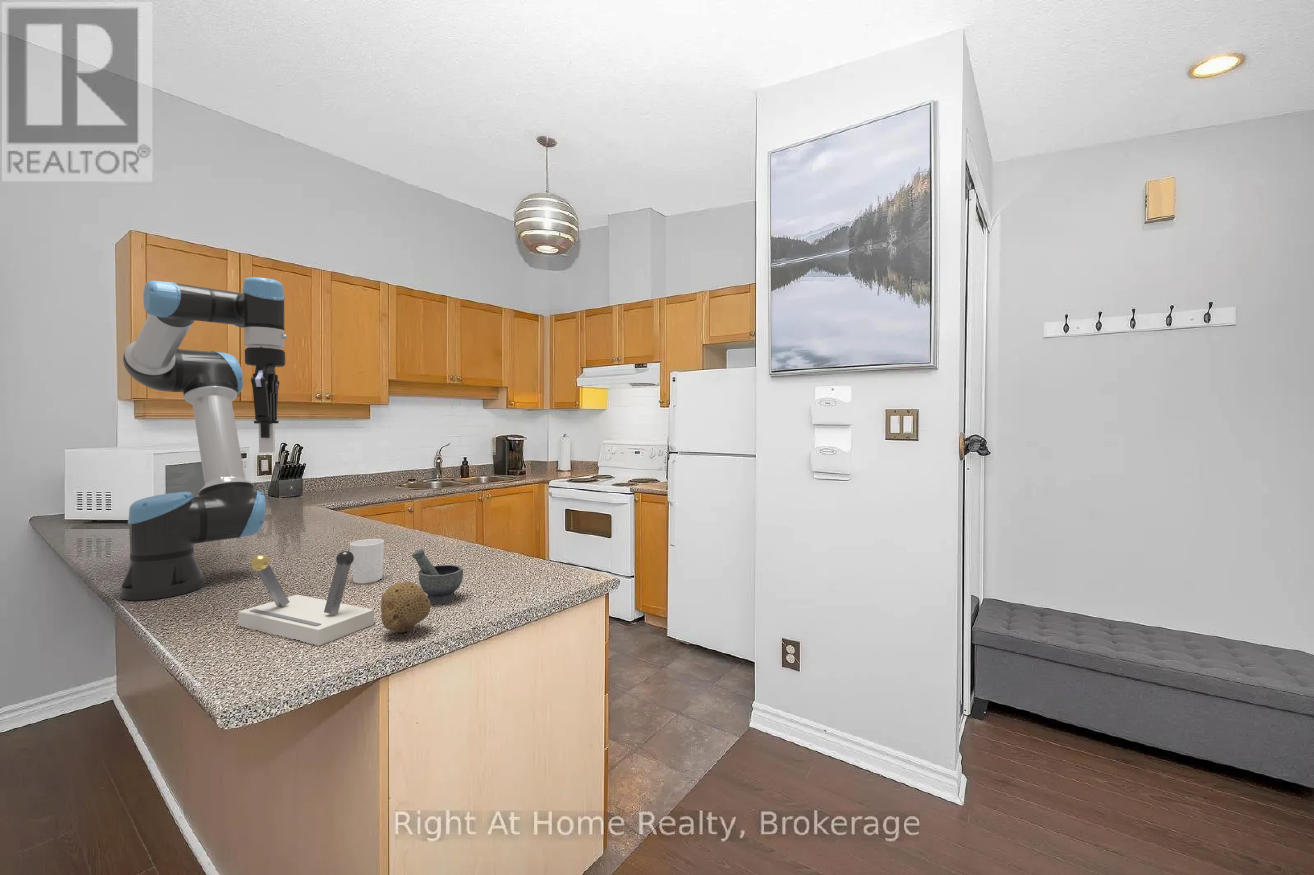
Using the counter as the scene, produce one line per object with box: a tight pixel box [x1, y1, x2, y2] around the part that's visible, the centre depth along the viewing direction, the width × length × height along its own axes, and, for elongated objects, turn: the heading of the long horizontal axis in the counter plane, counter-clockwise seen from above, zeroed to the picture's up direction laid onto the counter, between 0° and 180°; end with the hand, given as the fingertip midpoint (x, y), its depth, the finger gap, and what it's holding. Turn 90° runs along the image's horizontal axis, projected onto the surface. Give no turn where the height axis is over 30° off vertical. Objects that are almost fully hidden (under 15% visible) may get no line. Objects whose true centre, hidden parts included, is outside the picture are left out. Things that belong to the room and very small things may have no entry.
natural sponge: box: [380, 580, 432, 634], centre depth 111 cm, size 9×9×10 cm
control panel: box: [237, 594, 375, 647], centre depth 114 cm, size 12×24×3 cm, turn 67°
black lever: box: [324, 550, 354, 614], centre depth 113 cm, size 3×3×12 cm
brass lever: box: [249, 554, 289, 607], centre depth 114 cm, size 3×3×12 cm
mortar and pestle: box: [411, 548, 464, 605], centre depth 131 cm, size 11×9×12 cm
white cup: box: [349, 538, 385, 585], centre depth 146 cm, size 8×8×10 cm
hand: (267, 452), depth 128 cm, fingers closed
